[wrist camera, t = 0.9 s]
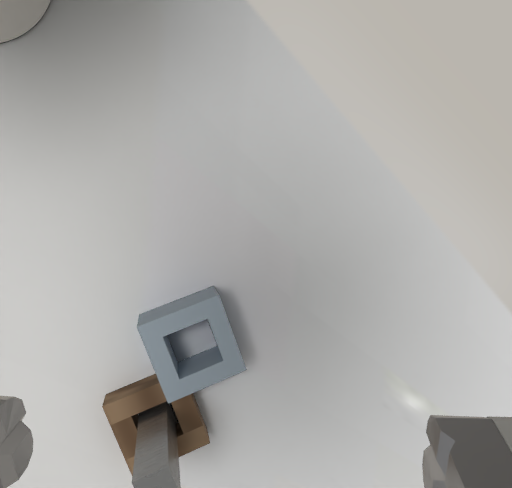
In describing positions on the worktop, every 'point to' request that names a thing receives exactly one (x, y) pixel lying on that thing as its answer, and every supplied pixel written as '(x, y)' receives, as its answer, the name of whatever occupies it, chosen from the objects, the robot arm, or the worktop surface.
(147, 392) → the socket block
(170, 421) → the tall brushed metal pillar
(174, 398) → the block
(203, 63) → the worktop surface
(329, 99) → the worktop surface
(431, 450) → the robot arm
